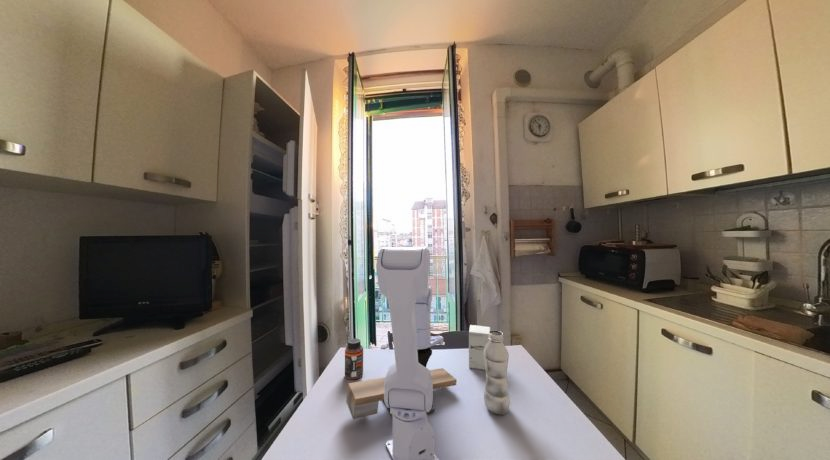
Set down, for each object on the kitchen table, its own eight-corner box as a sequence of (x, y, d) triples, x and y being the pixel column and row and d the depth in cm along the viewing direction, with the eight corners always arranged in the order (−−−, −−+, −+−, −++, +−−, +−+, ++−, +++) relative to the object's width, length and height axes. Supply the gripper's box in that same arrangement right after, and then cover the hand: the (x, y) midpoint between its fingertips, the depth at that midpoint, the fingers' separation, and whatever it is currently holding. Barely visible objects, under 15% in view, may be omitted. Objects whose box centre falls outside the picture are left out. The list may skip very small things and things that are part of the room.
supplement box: (468, 368, 85) (468, 331, 85) (469, 358, 92) (469, 324, 92) (490, 371, 83) (490, 333, 83) (490, 360, 90) (490, 326, 90)
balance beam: (455, 395, 71) (456, 379, 72) (353, 419, 57) (355, 399, 57) (441, 383, 77) (442, 368, 78) (346, 401, 63) (348, 383, 64)
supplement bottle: (358, 381, 77) (358, 345, 77) (341, 379, 78) (341, 343, 79) (366, 371, 83) (366, 337, 83) (349, 369, 84) (349, 336, 84)
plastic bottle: (493, 421, 61) (492, 339, 61) (479, 403, 67) (478, 329, 68) (515, 415, 62) (514, 336, 63) (499, 398, 69) (498, 327, 69)
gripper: (434, 317, 77) (434, 361, 77) (391, 326, 70) (391, 373, 70) (447, 324, 71) (447, 372, 71) (402, 334, 64) (402, 387, 64)
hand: (420, 374), depth 70 cm, fingers closed
